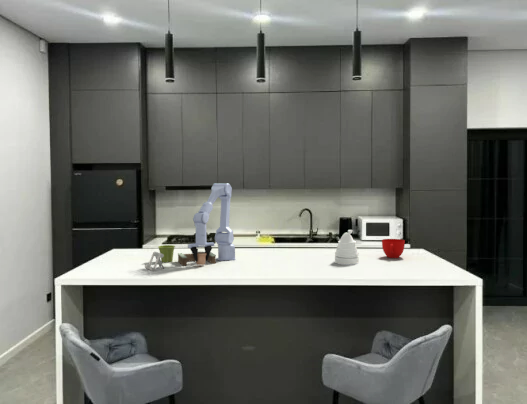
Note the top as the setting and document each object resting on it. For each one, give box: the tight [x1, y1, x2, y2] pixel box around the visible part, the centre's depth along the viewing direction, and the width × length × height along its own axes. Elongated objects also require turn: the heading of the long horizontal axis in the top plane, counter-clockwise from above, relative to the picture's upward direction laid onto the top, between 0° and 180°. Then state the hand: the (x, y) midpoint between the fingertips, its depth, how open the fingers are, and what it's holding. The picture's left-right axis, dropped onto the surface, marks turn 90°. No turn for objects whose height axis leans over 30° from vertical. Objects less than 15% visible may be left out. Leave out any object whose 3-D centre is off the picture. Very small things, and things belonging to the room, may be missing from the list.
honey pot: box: [334, 229, 359, 266], centre depth 249 cm, size 13×13×18 cm
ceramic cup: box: [381, 238, 406, 259], centre depth 264 cm, size 13×17×10 cm
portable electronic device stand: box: [144, 251, 165, 272], centre depth 234 cm, size 9×8×8 cm
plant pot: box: [157, 244, 176, 263], centre depth 255 cm, size 9×9×9 cm
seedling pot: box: [195, 251, 207, 266], centre depth 241 cm, size 6×6×6 cm
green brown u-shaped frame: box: [177, 251, 217, 266], centre depth 252 cm, size 18×14×5 cm
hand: (201, 260), depth 241 cm, fingers closed on seedling pot, 6 cm apart
